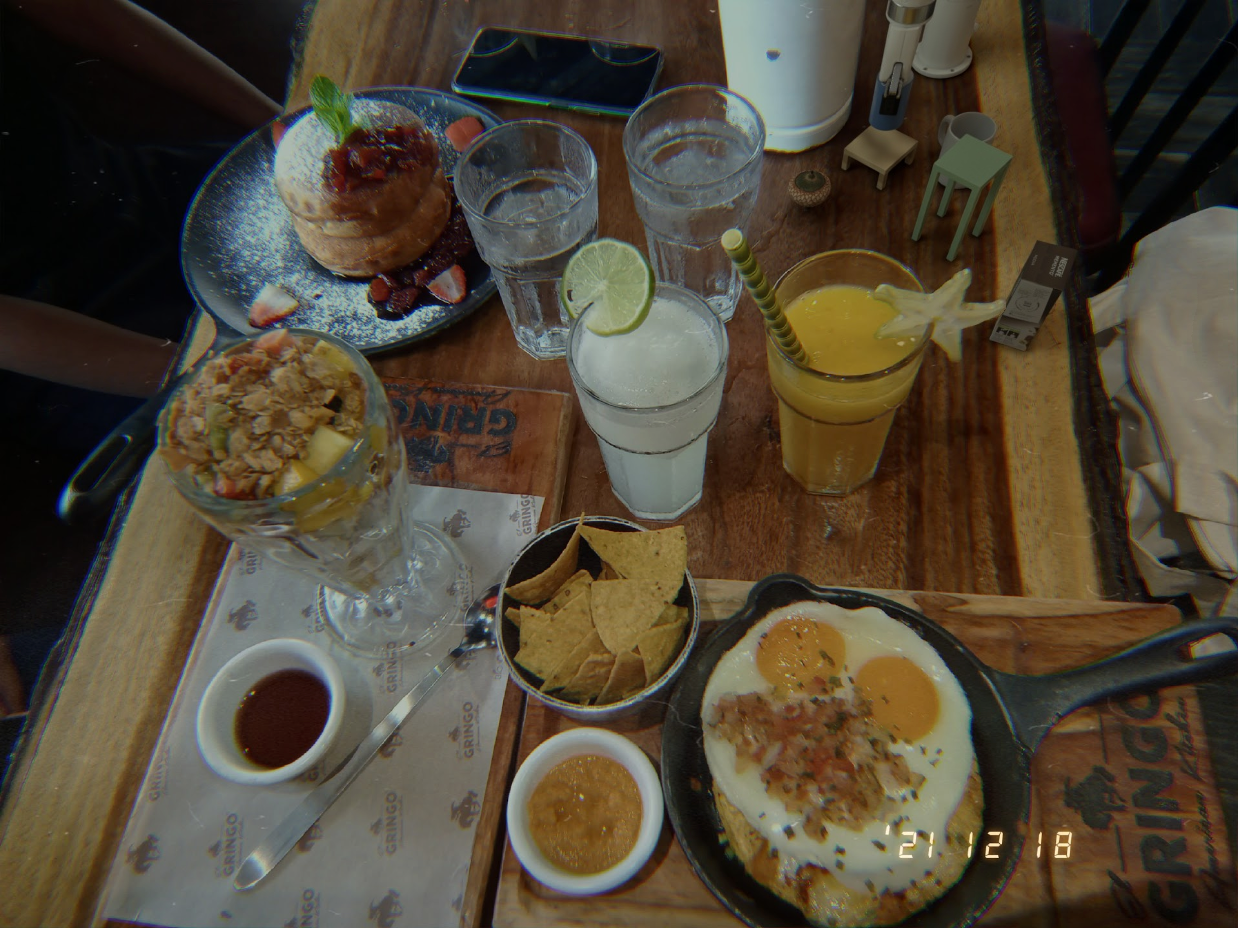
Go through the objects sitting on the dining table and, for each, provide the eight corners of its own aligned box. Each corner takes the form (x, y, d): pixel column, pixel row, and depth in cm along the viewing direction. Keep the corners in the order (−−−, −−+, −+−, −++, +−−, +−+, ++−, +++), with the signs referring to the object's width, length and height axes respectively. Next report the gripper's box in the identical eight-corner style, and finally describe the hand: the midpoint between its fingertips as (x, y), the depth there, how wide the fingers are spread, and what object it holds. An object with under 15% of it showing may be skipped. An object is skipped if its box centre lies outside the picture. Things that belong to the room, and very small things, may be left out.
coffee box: (1026, 352, 126) (1063, 292, 112) (987, 340, 128) (1019, 279, 114) (1042, 313, 129) (1080, 249, 114) (1004, 301, 131) (1037, 237, 117)
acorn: (797, 231, 145) (801, 192, 136) (778, 204, 148) (781, 164, 140) (835, 215, 145) (842, 176, 136) (815, 189, 149) (820, 149, 140)
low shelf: (872, 140, 152) (876, 120, 148) (912, 161, 148) (918, 141, 144) (841, 168, 150) (844, 148, 146) (881, 190, 146) (885, 170, 142)
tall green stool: (940, 211, 142) (966, 133, 126) (981, 233, 138) (1013, 156, 122) (911, 238, 140) (933, 163, 124) (951, 262, 136) (980, 187, 120)
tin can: (883, 103, 142) (892, 59, 133) (911, 117, 139) (922, 73, 131) (861, 122, 140) (869, 78, 132) (889, 136, 138) (899, 92, 129)
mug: (989, 178, 144) (1007, 131, 134) (951, 195, 143) (967, 150, 133) (952, 142, 149) (967, 94, 139) (915, 158, 149) (928, 112, 139)
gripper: (894, -28, 124) (876, 68, 140) (880, 38, 118) (862, 131, 133) (941, -27, 122) (917, 71, 138) (929, 40, 116) (905, 135, 132)
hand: (890, 100), depth 136 cm, fingers closed on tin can, 6 cm apart
